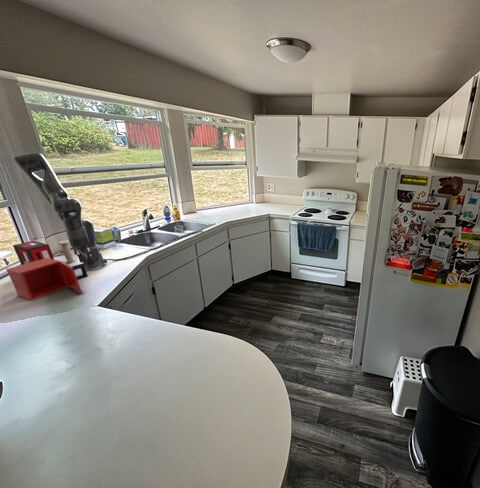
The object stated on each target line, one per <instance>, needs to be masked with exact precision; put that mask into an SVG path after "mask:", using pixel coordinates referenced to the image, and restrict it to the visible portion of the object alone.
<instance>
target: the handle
mask: <svg viewBox="0 0 480 488" xmlns="http://www.w3.org/2000/svg"><path fill="white" fill-rule="evenodd" d="M58 245H59V246H61V248H62V253H63V255H64V258H65V259H66V262H67V263H73V262H75V259H74V256H73V252H72V250H71V248H70V246H69V245H70V242H69V239H67V240H61V241H58Z"/></svg>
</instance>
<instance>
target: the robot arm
mask: <svg viewBox="0 0 480 488" xmlns="http://www.w3.org/2000/svg"><path fill="white" fill-rule="evenodd" d="M12 158H13V162H14V163H15V164H16V166H17V167H18V168H19V169H20V171H21V172H23V174H24V175H25V176H26V177H27V179H29V180H30V181H31V183H32V184H33V185H34V186H35V188H36V189H37V190H38V191H39V193H40V194H41V196H42V197H43V198H44V199H45V201H46V202H47V203H48V204H49V205H50V206H51V208H52V210H53V212H54V213H55V214H56V215H58V217H59V218H60V220H61V222H62V224H63V226H64V229H65V232H66V236H67V240H68V241H69V245H70V246H71V248H72V250H73V253H74V255H75V256H76V257H77V258H78V260H79V263H80V264H84V266H85V269H86V271H95V270H98V269H101V268H103V267H104V266H106V265H105V264H108V261H114V262H115V261H122V260H126V259H131V258H133V257H136V256H139V255H142V254H145V253H148V252H150V251H152V250H155V249H157V248H159V247H162V246H164V245H167V244H168V243H171V242H173V241H176V240H178V239H181V238H183V237H187V236H190V235H194V234H197V233H201V232H203V230H198V231H195V232H191V233H188V234H187V233H186V234H184V235H180V236H178V237H175V238H173V239H170V240H168V241H166V242H164V243H162V244H159V245H160V246H159V245H157V246H158V247H157V246H154V247H155V248H154V247H152V248H153V249H152V248H150V249H147V250H148V251H147V250H144V251H141V252H139V253H136V254H133V255H130V256H126V257H123V258H117V259H116V258H114V259H113V258H104V257H103V255H102V252H100V250H99V248H98V247H97V244H96V235H95V231H94V225H93V223H92V221H91V220H89V219H82V203H81V202H80V201H79V200H78V199H77V198H70V197H69V193H68V192H67V190H66V189H65V188H64V186H62V184H61V182H60V181H59V179H58V177H57V174H56V173H55V172H54V170H53V168H52V166H51V165H50V163H49V162H48V160H47V159H46V157H45V156H44V155H43V154H42V153H41V152H38V151H33V152H28V153H22V154H18V155H14V156H13V157H12ZM43 171H44V173H43V179H42V178H40V177H39V176H38V175H36V174H35V173H38V172H43Z"/></svg>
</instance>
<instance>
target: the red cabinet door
mask: <svg viewBox="0 0 480 488" xmlns="http://www.w3.org/2000/svg"><path fill="white" fill-rule="evenodd" d="M60 264H61V267H62V270H63V272H64V275H65V278H66V280H67V283H68V285H69V286H68V287H69V288H70V289H72V290H73V291H74V292H75V293H77V294H79V295H82V294H83V292H82V289H81V286H80V283H79V281H80V280H84V279H86V278H88V277H89V275H88V272H87V271H88V270H86V269H85V266H84V264H83V263H79V264H76V265H71V266H70V265H69V264H67V263H65V261H63V260H61V261H60ZM79 269H80V271H81V273H82V274H79V275H76V272H75V271H76V270H79Z"/></svg>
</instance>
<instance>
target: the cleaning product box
mask: <svg viewBox="0 0 480 488" xmlns="http://www.w3.org/2000/svg"><path fill="white" fill-rule="evenodd" d="M12 247H13V249H14V251H15V255H16V256H17V258H18V261H19V263H20V265H23V264H27V263H30V262H34V261H37V260H41V259H45V258H49V259H53V260H55V257H54V255H53V253H52V249H51V247H50V245H49V244H48V243H45V242H40V241H37V240H36V241H35V240H30V241H25V242H21V243H16V244H13V245H12Z"/></svg>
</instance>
